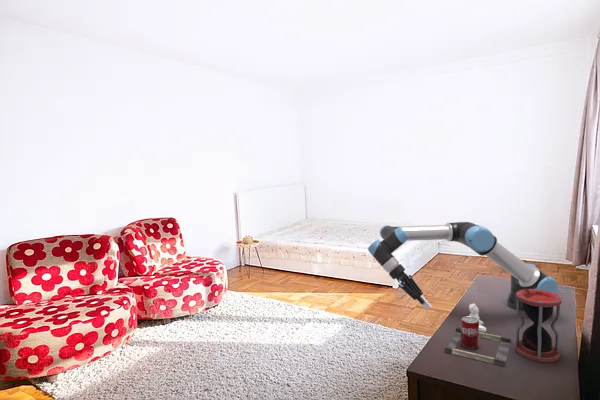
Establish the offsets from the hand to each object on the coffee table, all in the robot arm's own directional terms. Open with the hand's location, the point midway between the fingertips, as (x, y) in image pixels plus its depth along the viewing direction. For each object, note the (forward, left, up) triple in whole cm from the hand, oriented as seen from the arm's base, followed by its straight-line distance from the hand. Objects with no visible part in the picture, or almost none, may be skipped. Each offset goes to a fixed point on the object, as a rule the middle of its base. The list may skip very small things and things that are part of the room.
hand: (429, 308), depth 180 cm
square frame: (0, +21, -14) cm, 25 cm away
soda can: (0, +17, -14) cm, 22 cm away
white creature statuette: (-19, +16, -14) cm, 29 cm away
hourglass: (-7, +42, -14) cm, 45 cm away
